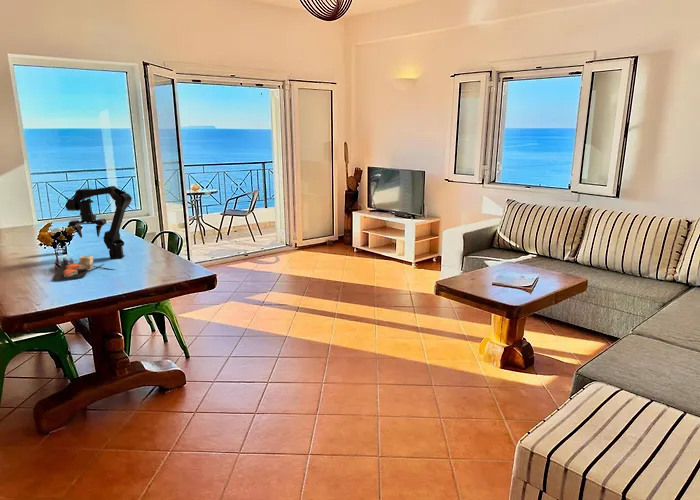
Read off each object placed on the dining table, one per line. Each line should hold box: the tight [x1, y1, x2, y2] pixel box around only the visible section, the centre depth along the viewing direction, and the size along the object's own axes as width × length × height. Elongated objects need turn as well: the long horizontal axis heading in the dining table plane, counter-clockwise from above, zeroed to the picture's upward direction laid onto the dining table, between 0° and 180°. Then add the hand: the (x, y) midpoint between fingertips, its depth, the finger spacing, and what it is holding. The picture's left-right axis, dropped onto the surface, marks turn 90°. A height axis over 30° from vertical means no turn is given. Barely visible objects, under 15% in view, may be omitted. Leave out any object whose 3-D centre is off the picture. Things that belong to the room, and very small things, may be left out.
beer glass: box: [50, 227, 65, 234], centre depth 291 cm, size 7×7×15 cm
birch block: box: [78, 255, 94, 270], centre depth 253 cm, size 5×5×6 cm
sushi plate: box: [52, 262, 115, 281], centre depth 254 cm, size 29×30×4 cm
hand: (90, 237), depth 279 cm, fingers open, 9 cm apart
